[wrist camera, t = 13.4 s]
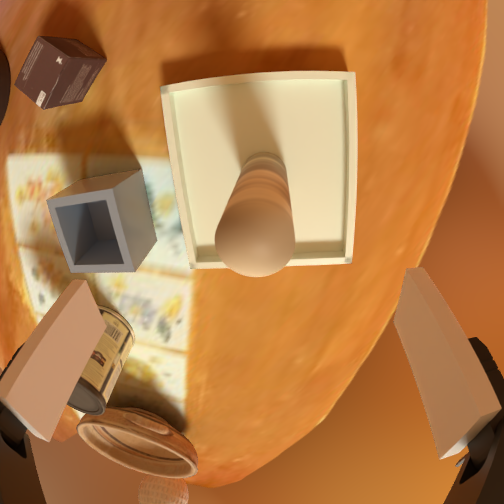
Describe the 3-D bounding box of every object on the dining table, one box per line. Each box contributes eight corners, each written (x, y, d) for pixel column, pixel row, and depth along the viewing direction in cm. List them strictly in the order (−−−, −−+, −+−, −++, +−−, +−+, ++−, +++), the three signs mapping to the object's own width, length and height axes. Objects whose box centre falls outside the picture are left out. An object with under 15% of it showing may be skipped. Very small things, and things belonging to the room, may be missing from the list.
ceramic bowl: (94, 356, 49) (73, 396, 40) (231, 412, 54) (225, 456, 45) (90, 421, 66) (78, 449, 58) (182, 458, 71) (175, 487, 62)
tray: (169, 86, 27) (160, 86, 24) (348, 73, 25) (355, 72, 23) (195, 257, 36) (190, 268, 34) (347, 251, 34) (351, 263, 32)
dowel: (240, 153, 29) (209, 207, 16) (285, 150, 28) (294, 203, 15) (244, 195, 31) (220, 277, 18) (287, 193, 30) (295, 275, 17)
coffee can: (82, 335, 46) (47, 395, 34) (81, 295, 41) (35, 358, 29) (133, 358, 48) (105, 424, 35) (139, 320, 43) (103, 394, 30)
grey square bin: (80, 179, 32) (46, 200, 26) (141, 168, 31) (112, 188, 25) (97, 244, 37) (70, 272, 30) (157, 240, 36) (135, 272, 30)
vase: (196, 470, 76) (185, 529, 56) (188, 480, 84) (178, 531, 64) (147, 456, 74) (131, 514, 55) (145, 468, 82) (131, 518, 63)
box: (77, 38, 23) (38, 33, 17) (109, 59, 25) (70, 56, 19) (53, 80, 26) (12, 85, 20) (82, 103, 28) (42, 111, 21)
